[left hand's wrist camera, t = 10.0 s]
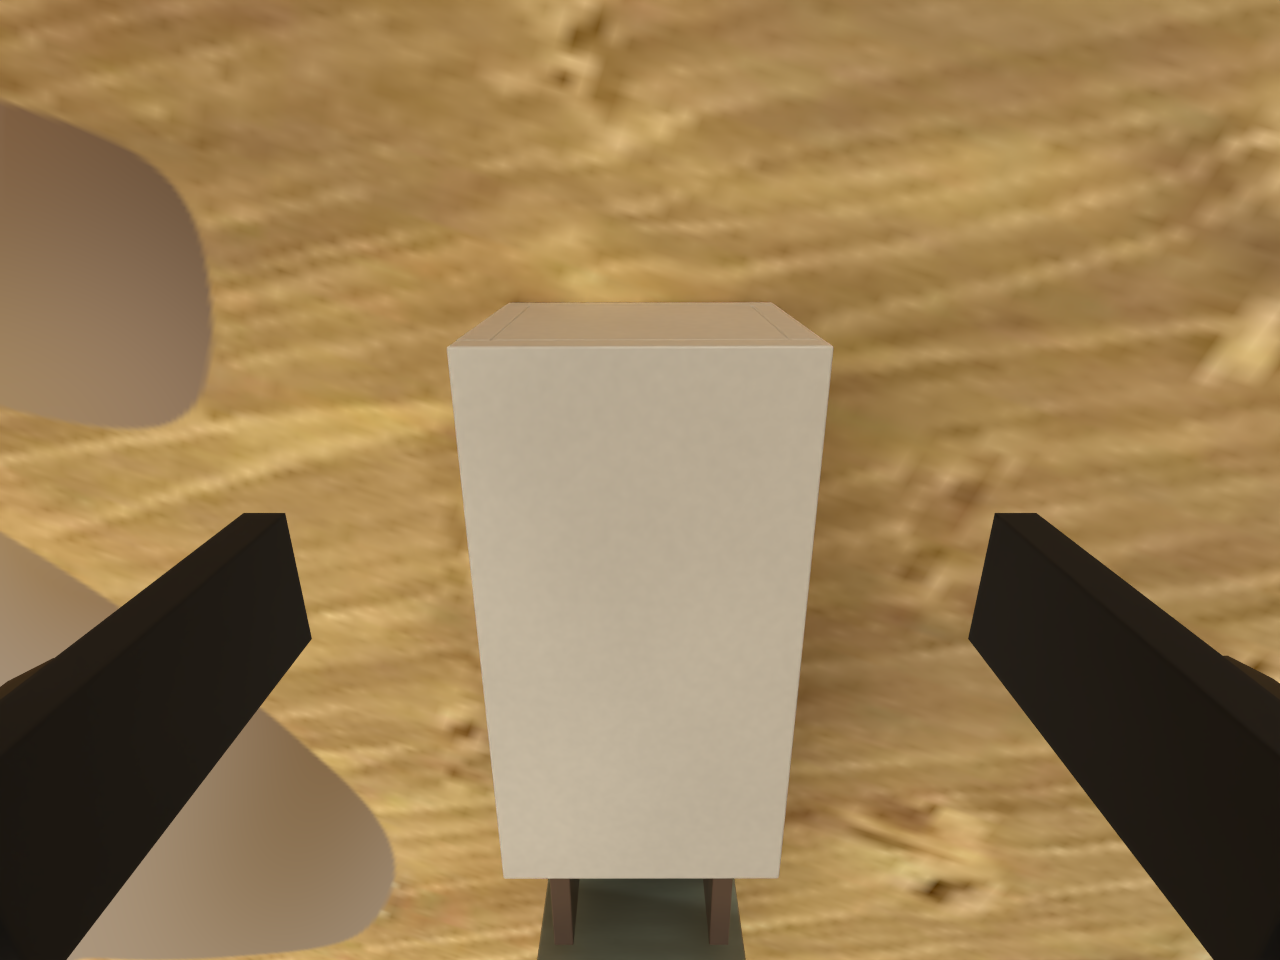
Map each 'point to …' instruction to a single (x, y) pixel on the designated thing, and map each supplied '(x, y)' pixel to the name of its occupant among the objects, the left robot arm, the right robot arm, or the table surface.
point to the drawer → (641, 919)
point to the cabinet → (640, 577)
